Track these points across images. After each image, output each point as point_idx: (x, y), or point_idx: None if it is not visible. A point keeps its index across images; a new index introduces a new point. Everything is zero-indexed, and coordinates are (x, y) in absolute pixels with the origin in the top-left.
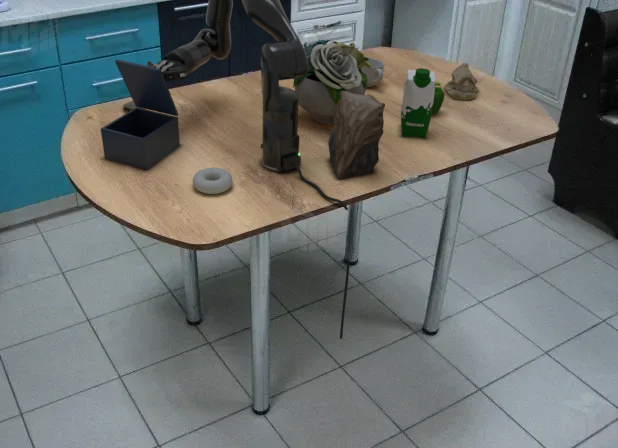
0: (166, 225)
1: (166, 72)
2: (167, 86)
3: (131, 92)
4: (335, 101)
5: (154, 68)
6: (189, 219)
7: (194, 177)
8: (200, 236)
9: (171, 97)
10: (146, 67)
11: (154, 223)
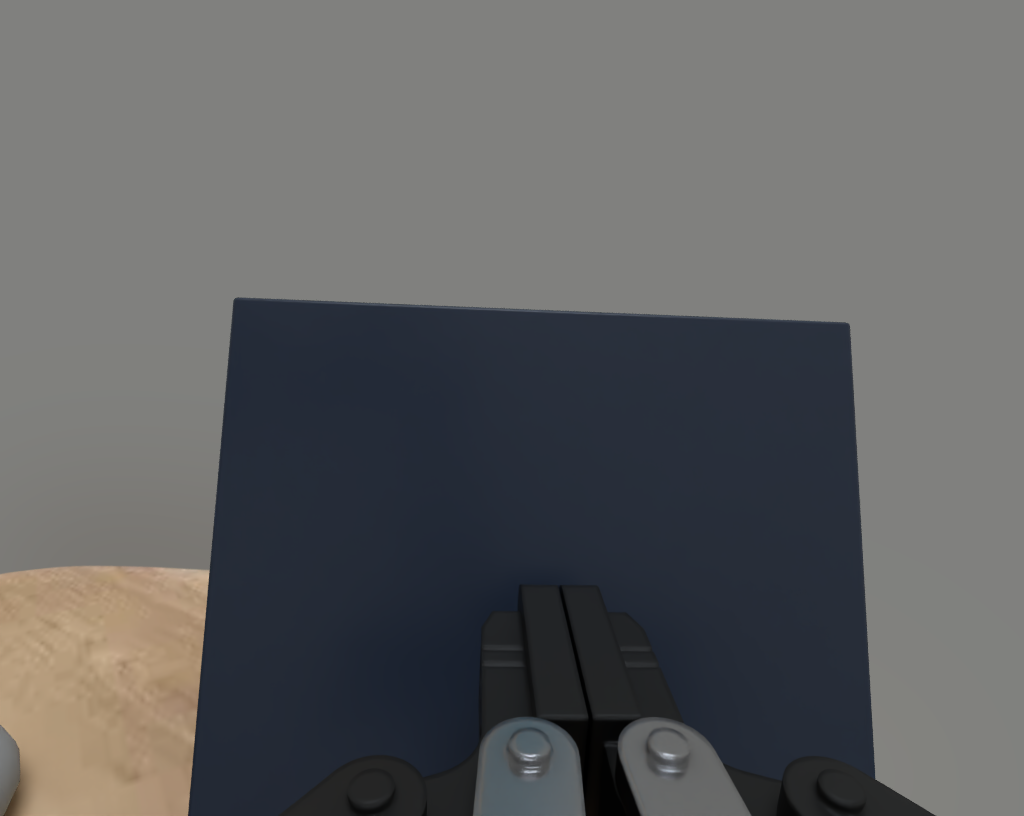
0: (135, 592)
1: (365, 782)
2: (208, 590)
3: None
4: None
5: (314, 304)
6: (47, 628)
7: (2, 744)
8: (4, 588)
9: (192, 792)
10: (419, 311)
11: (179, 588)
